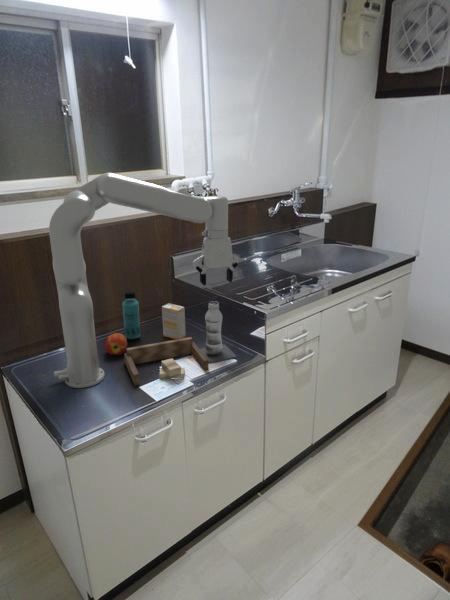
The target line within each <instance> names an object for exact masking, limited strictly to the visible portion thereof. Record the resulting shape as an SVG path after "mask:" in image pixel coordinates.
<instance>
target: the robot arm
mask: <svg viewBox="0 0 450 600" xmlns="http://www.w3.org/2000/svg"><path fill="white" fill-rule="evenodd" d="M63 199H64V200H63V202H62V203H61V204H60V205H59V206H58V207H57V208H56V209H55V210H54V212H53V214H52V216H51V217H50V218H51V219H50V221H49V226H48V230H49V231H48V232H49V233H48V235H49V241H50V249H51V256H52V269H53V273H54V279H55V284H56V289H57V296H58V304H59V305H58V308H59V313H60V319H61V320H60V321H61V325H62V327H61V328H62V334H63V339H64V340H63V341H64V347H65V353H66V354H65V355H66V363H67V365H66V368H63V370H55V371H53V377H54V378H58V380H63V379H64V384H65V385H67V386H68V387H70V388H73V389H74V388H76V389H84V388H90V387H93V386H95V385H98V384H100V382H102V381H103V380H104V378H105V376H106V375H105V371H104V369H103V368H101V367H100V364H99V356H98V347H97V340H96V330H95V319H94V317H95V316H94V306H93V305H94V303H93V300H92V296H91V293H90V290H89V287H88V281H87V266H86V261H85V259H84V253H83V247H82V239H81V236H82V235H81V231H82V230H83V227H84V226H85V224H87V223H89V222H90V221H92V219H93V218H94V216H95V213H96V211H98V210H100V209H101V208H103V207H105V206H106V205H108V204H109V203H110V204H113V205H116V206H117V205H118V206H123V207H127V208H131V209H135V210H140V211H145V212H149V213H152V214H156V215H162V216H165V217H170V218H173V219H178V220H182V221H188V222H191V223H195V224H196V223H197V224H204V223H205V225H204V226H205V228H204V230H203V231H201V236H204V238H203V240H202V245H201V255H200V256H198V257H197V258H195V259H194V260H192V265H193V267H194V269H196V271H197V272H199V282H200V284H202V285H203V286H206V285H207V274H206V272H207V271H208V270H216V269H223V268H227V269H226V281H228V282H229V283H232V282H233V279H234V274H233V273H234V271H235V268H237V267H238V264H239V262H240V260H241V257H240V256H238V255H235V254H233V247H232V246H233V245H232V239H231V238H230V237H229V200H228V198H227V197H226V196H222V195H211V196H201V195H200V196H198V195H189V194H188V195H187V194H184V193H182V192H181V193H180V192H177V191H174V190H171V189H168V188H166V187H164V186H161V185H158V184H155V183H152V182H147V181H144V180H143V181H142V180H139V179H135V178H131V177H127V176H123V175H120V174H116V173H113V172H105V173H103V174H100V175H99V176H97V177H95V178H93V179H91V180H90V181H88V182H87V183H85V184H83V185H81V186H79V187H77V188H76V189H74V190H71V192H69V193H67V195H66V196H65V197H64V198H63ZM233 259H234V260H233ZM200 262H201V266H199V264H200Z"/></svg>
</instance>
